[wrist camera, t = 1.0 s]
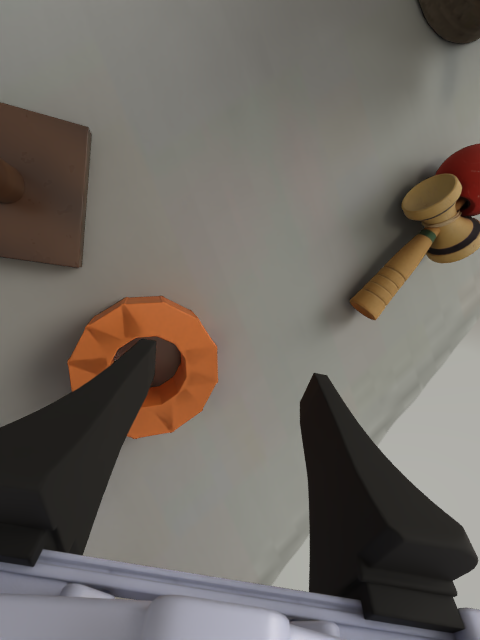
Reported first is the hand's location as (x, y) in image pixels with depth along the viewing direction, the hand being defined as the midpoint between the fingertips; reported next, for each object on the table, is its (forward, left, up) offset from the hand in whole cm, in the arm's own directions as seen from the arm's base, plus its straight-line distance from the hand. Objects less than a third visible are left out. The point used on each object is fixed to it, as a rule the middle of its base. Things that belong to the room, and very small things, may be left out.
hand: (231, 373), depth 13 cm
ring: (-4, +2, -12) cm, 13 cm away
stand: (+3, +15, -12) cm, 19 cm away
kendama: (+17, -15, -12) cm, 26 cm away
